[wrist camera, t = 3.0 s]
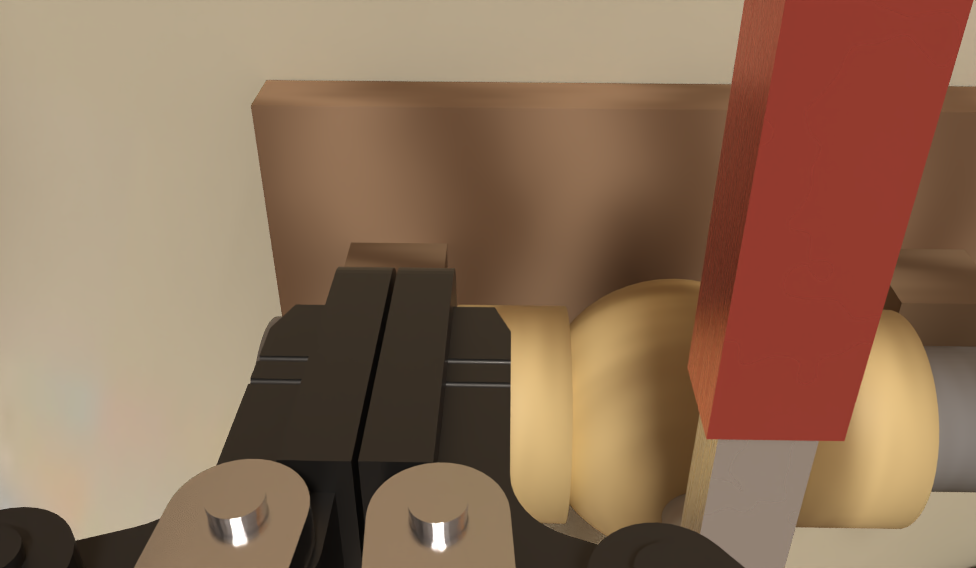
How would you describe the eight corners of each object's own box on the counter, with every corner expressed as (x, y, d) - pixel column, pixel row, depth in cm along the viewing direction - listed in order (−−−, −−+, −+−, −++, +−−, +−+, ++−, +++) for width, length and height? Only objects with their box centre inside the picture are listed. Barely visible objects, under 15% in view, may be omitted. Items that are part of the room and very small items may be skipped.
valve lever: (766, 619, 22) (787, 697, 20) (631, 618, 22) (641, 695, 20) (949, -65, 13) (1013, -30, 11) (727, -67, 13) (759, -32, 12)
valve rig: (313, 426, 35) (233, 733, 25) (266, 80, 28) (121, 315, 17) (936, 435, 35) (1117, 750, 25) (1063, 87, 27) (1405, 331, 17)
